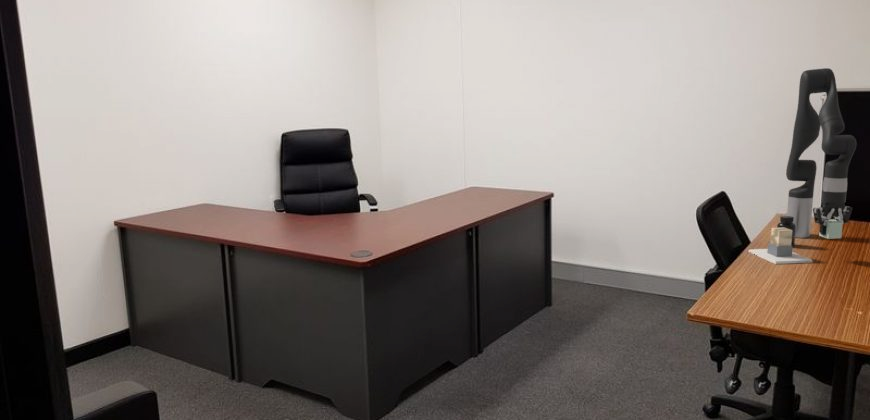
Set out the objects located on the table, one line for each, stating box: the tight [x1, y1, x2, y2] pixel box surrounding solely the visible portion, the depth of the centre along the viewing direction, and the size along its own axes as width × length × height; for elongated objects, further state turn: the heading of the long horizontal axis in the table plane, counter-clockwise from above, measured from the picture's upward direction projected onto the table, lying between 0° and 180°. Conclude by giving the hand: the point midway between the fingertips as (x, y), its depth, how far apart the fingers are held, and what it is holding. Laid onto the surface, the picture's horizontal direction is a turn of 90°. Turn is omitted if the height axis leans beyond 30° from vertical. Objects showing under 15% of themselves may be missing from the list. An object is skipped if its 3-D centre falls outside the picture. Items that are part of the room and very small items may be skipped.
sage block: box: [818, 219, 844, 240], centre depth 229 cm, size 5×5×6 cm
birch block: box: [770, 227, 792, 246], centre depth 235 cm, size 5×5×6 cm
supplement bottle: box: [776, 215, 796, 247], centre depth 253 cm, size 7×7×12 cm
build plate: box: [748, 242, 813, 265], centre depth 236 cm, size 18×14×5 cm
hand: (830, 234), depth 230 cm, fingers closed on sage block, 5 cm apart
